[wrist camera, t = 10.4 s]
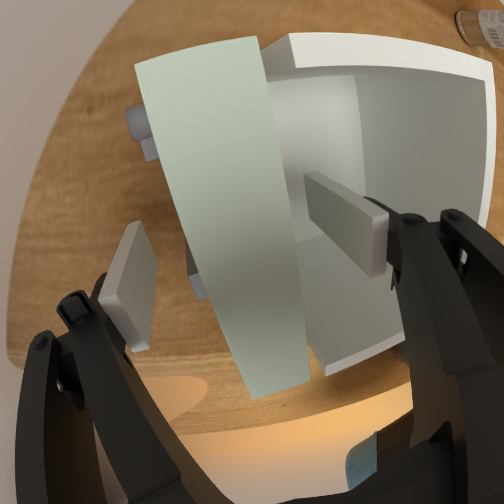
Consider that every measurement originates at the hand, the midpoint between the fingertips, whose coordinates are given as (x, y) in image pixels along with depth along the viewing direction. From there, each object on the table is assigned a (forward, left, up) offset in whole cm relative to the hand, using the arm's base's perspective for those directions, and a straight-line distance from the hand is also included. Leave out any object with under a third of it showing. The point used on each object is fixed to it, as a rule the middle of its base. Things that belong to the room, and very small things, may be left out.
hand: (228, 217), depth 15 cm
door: (+1, 0, -5) cm, 5 cm away
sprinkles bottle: (+14, -29, -5) cm, 33 cm away
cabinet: (+1, -4, -5) cm, 7 cm away
